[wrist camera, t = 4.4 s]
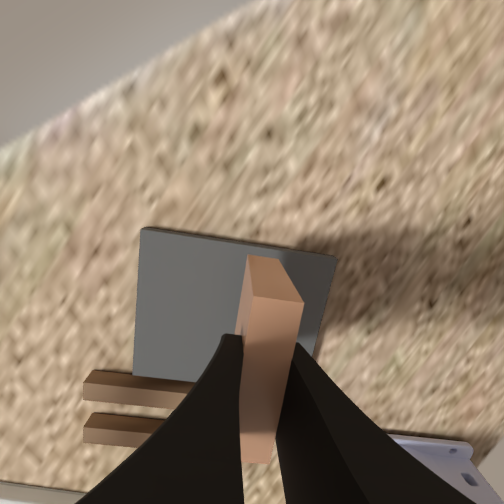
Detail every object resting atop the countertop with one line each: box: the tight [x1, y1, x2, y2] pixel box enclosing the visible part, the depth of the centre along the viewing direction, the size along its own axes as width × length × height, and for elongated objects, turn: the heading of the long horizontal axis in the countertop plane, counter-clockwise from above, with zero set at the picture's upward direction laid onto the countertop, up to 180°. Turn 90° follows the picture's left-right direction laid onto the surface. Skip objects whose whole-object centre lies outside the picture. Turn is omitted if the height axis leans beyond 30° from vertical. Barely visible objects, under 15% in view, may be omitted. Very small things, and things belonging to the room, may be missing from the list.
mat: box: [132, 227, 338, 382], centre depth 15 cm, size 10×9×1 cm
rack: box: [83, 370, 196, 448], centre depth 17 cm, size 7×4×1 cm, turn 81°
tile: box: [235, 255, 304, 464], centre depth 10 cm, size 5×1×5 cm, turn 171°
